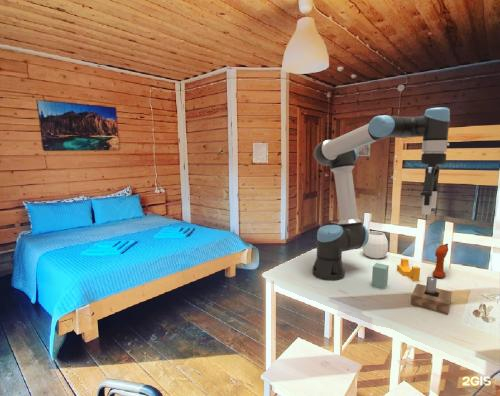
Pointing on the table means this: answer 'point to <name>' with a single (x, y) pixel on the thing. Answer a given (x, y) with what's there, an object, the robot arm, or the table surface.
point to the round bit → (431, 286)
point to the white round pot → (376, 245)
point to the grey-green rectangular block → (380, 275)
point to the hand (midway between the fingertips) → (428, 211)
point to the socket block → (431, 299)
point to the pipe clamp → (408, 270)
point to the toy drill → (440, 260)
